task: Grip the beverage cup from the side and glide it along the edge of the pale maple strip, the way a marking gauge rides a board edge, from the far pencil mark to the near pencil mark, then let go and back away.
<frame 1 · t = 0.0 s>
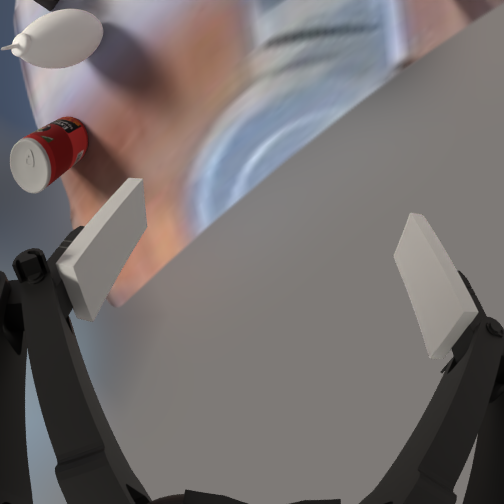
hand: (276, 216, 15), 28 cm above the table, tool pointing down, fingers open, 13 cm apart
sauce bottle: (92, 35, 31), on the table
canned food: (71, 138, 41), on the table
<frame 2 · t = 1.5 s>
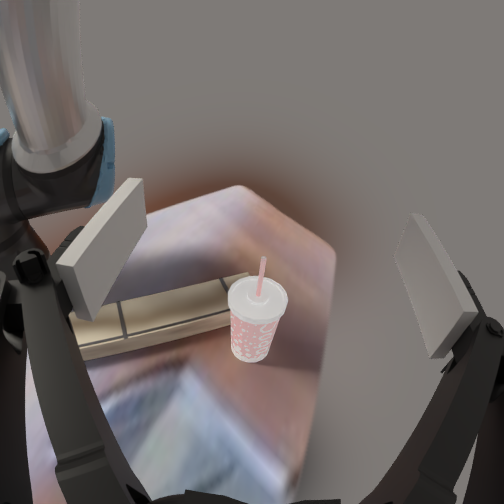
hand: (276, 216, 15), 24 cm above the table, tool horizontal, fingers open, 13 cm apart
beverage cup: (249, 347, 38), on the table
maple strip: (163, 323, 39), on the table
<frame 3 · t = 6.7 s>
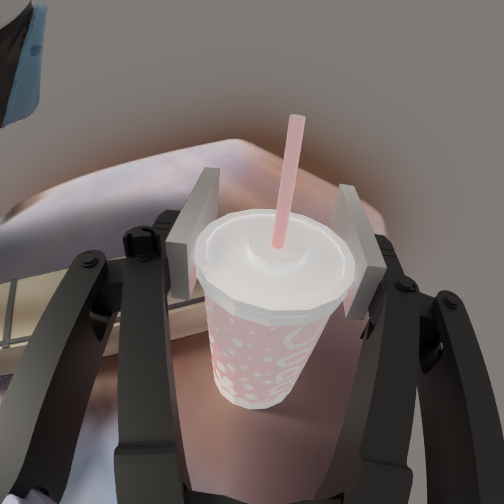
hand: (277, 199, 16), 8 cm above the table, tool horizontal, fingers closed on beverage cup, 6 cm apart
beverage cup: (253, 376, 17), on the table, touching gripper
maple strip: (87, 323, 19), on the table
when the fingers open (9 cm above the table, at t = 11.6 s): beverage cup stays where it is, on the table.
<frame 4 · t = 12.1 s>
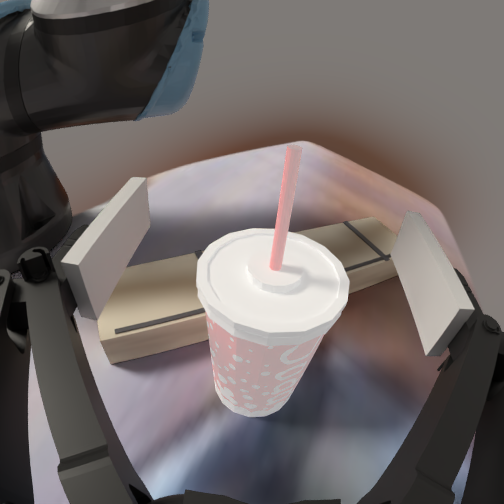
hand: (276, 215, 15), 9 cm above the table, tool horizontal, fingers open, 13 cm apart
beverage cup: (253, 385, 18), on the table
maple strip: (272, 287, 25), on the table
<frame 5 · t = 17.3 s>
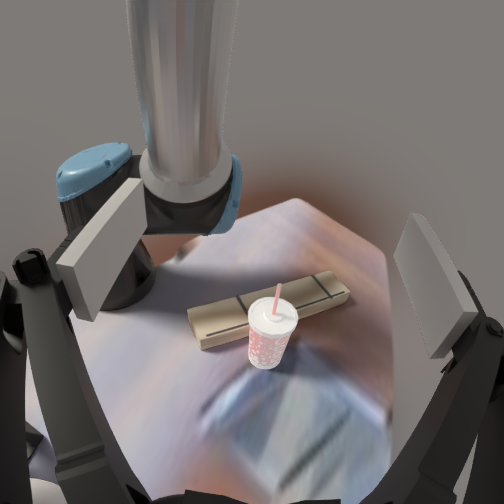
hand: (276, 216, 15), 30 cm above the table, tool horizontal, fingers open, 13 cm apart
phone stand: (15, 448, 25), on the table
beverage cup: (264, 356, 43), on the table
maple strip: (272, 312, 50), on the table
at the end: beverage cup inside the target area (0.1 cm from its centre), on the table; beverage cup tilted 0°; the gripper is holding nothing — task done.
